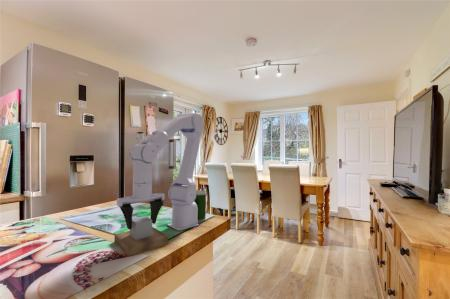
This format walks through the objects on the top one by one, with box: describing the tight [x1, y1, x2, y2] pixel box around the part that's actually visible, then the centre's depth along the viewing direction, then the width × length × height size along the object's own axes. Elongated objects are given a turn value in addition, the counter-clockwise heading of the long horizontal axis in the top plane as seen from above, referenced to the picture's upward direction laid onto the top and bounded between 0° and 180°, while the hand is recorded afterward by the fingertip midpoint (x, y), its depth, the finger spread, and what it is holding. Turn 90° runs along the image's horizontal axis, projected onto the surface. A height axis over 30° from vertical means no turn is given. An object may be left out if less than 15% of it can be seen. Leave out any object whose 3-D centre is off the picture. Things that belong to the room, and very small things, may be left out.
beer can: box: [194, 189, 207, 222], centre depth 94 cm, size 5×5×12 cm
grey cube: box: [129, 215, 153, 240], centre depth 70 cm, size 5×5×5 cm
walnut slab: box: [114, 226, 169, 257], centre depth 70 cm, size 12×12×3 cm
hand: (141, 225), depth 70 cm, fingers open, 7 cm apart
